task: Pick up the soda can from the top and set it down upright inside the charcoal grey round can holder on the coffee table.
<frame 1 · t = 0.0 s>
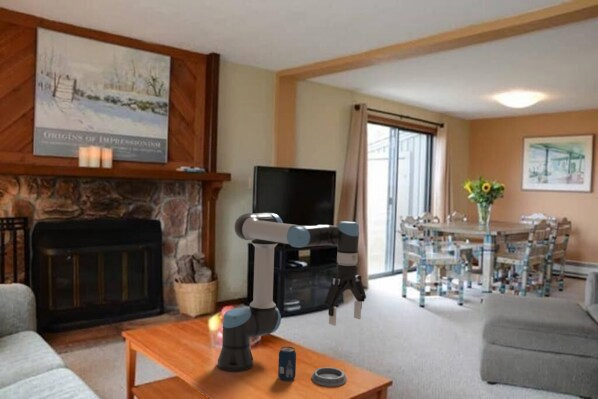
hand: (345, 321, 176), 28 cm above the table, tool pointing down, fingers open, 13 cm apart
can holder: (329, 379, 192), on the table
soda can: (286, 379, 191), on the table
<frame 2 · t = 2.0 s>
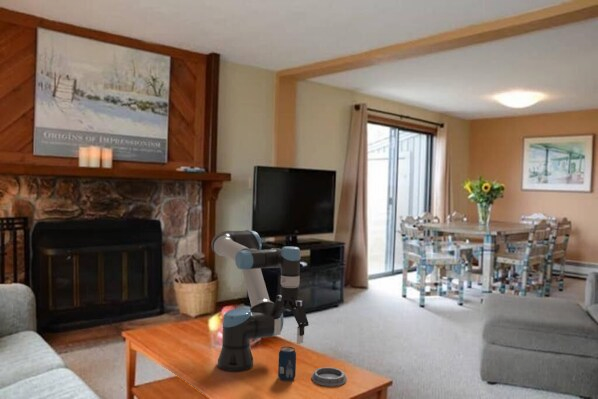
hand: (288, 339, 191), 16 cm above the table, tool pointing down, fingers open, 13 cm apart
nothing on the table moved.
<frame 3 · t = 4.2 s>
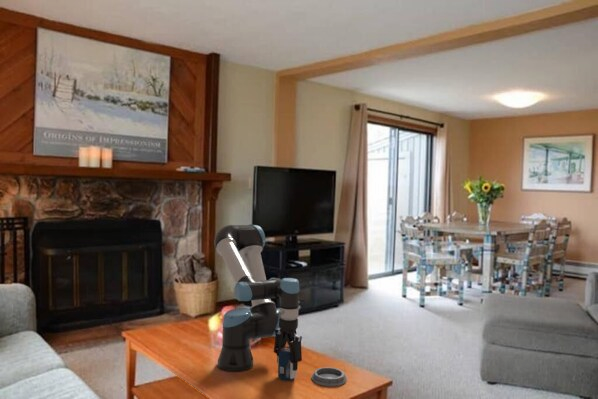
hand: (286, 374, 191), 2 cm above the table, tool pointing down, fingers closed on soda can, 7 cm apart
soda can: (286, 379, 191), on the table, touching gripper
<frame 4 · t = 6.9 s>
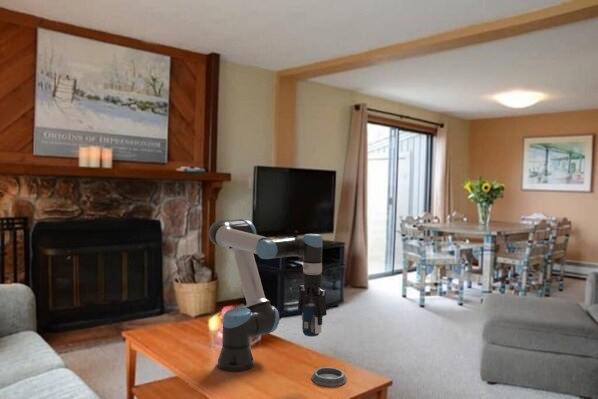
hand: (311, 330, 190), 20 cm above the table, tool pointing down, fingers closed on soda can, 7 cm apart
soda can: (311, 335, 190), point 18 cm above the table, touching gripper
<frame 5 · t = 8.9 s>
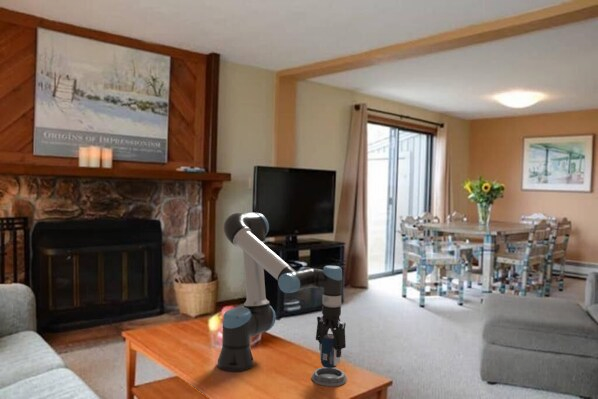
hand: (329, 361, 192), 7 cm above the table, tool pointing down, fingers closed on soda can, 7 cm apart
soda can: (329, 366, 192), point 5 cm above the table, touching gripper
when the fingers open (4 cm above the table, at t = 10.0 s): soda can drops 1 cm, resting on can holder.
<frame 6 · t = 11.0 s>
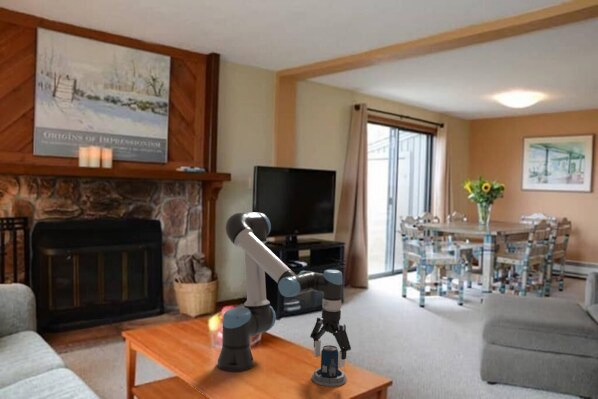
hand: (329, 361, 192), 7 cm above the table, tool pointing down, fingers open, 13 cm apart
soda can: (329, 377, 192), point 1 cm above the table, touching can holder
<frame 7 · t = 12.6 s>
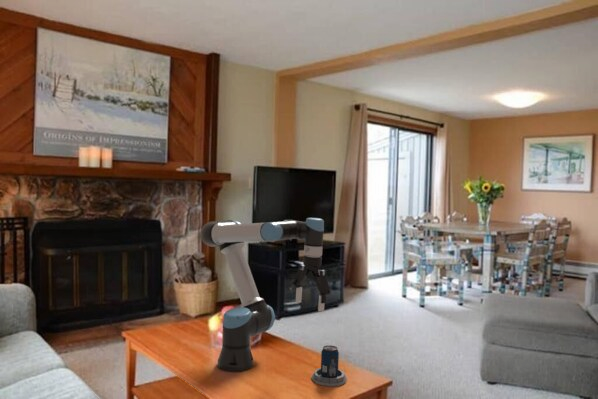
hand: (309, 306, 198), 27 cm above the table, tool pointing down, fingers open, 13 cm apart
nothing on the table moved.
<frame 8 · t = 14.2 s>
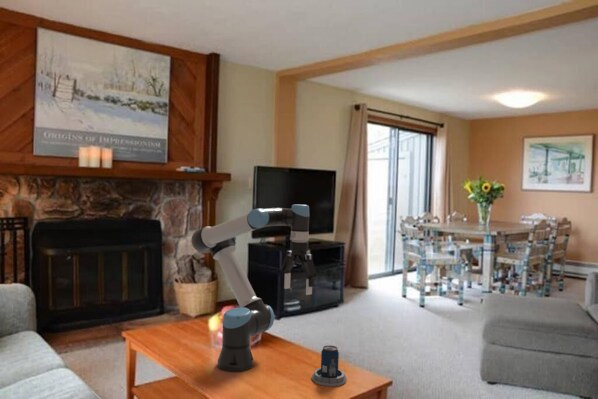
hand: (297, 291, 201), 33 cm above the table, tool pointing down, fingers open, 13 cm apart
nothing on the table moved.
at the end: soda can 0.1 cm from the can holder (horizontally); soda can tilted 0°; soda can point 0.6 cm above the table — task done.
